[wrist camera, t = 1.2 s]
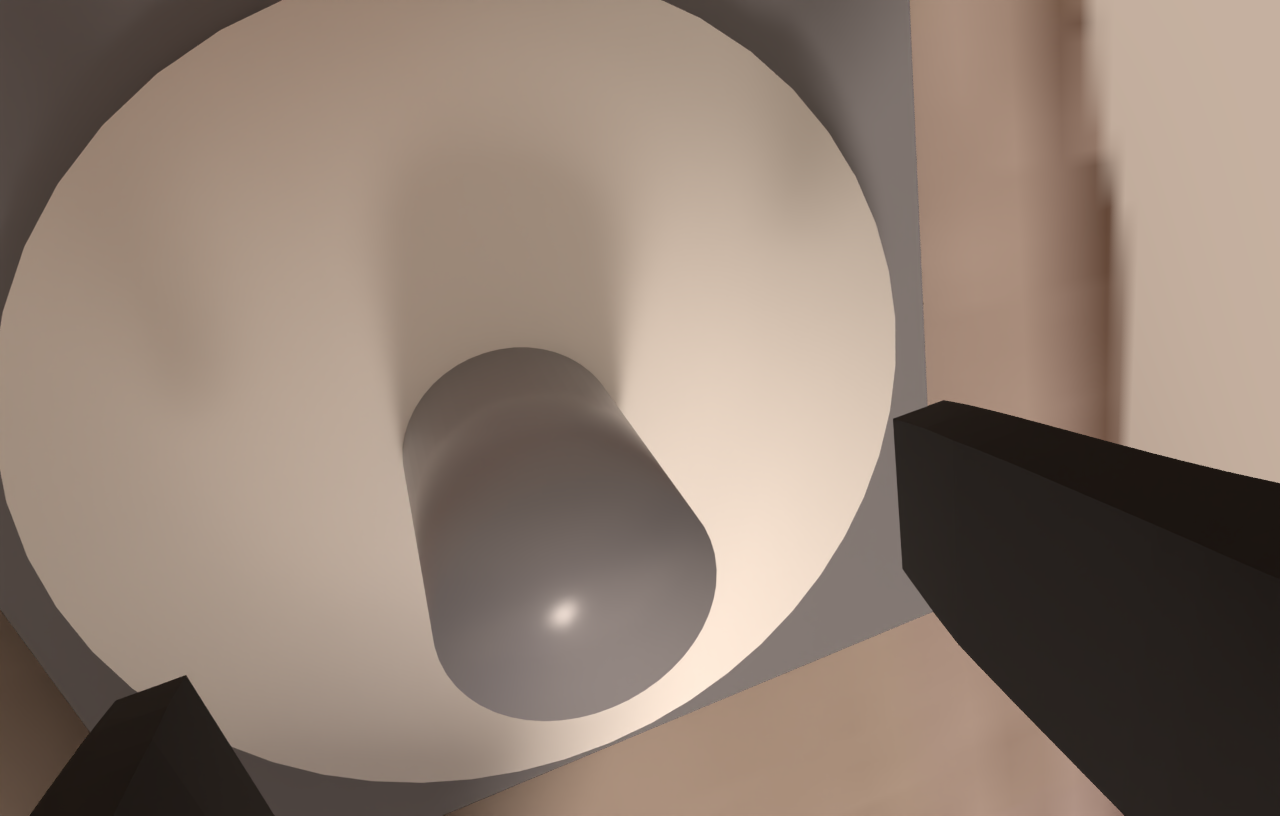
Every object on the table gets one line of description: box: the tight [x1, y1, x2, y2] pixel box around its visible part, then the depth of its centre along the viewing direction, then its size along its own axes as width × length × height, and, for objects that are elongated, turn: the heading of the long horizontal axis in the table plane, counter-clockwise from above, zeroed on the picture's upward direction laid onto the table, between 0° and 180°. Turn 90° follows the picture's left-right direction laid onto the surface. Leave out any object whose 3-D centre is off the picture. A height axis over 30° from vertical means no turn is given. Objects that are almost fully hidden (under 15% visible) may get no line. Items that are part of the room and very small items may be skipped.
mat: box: [0, 0, 933, 816], centre depth 13 cm, size 14×14×1 cm
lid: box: [0, 0, 895, 783], centre depth 11 cm, size 12×12×4 cm
